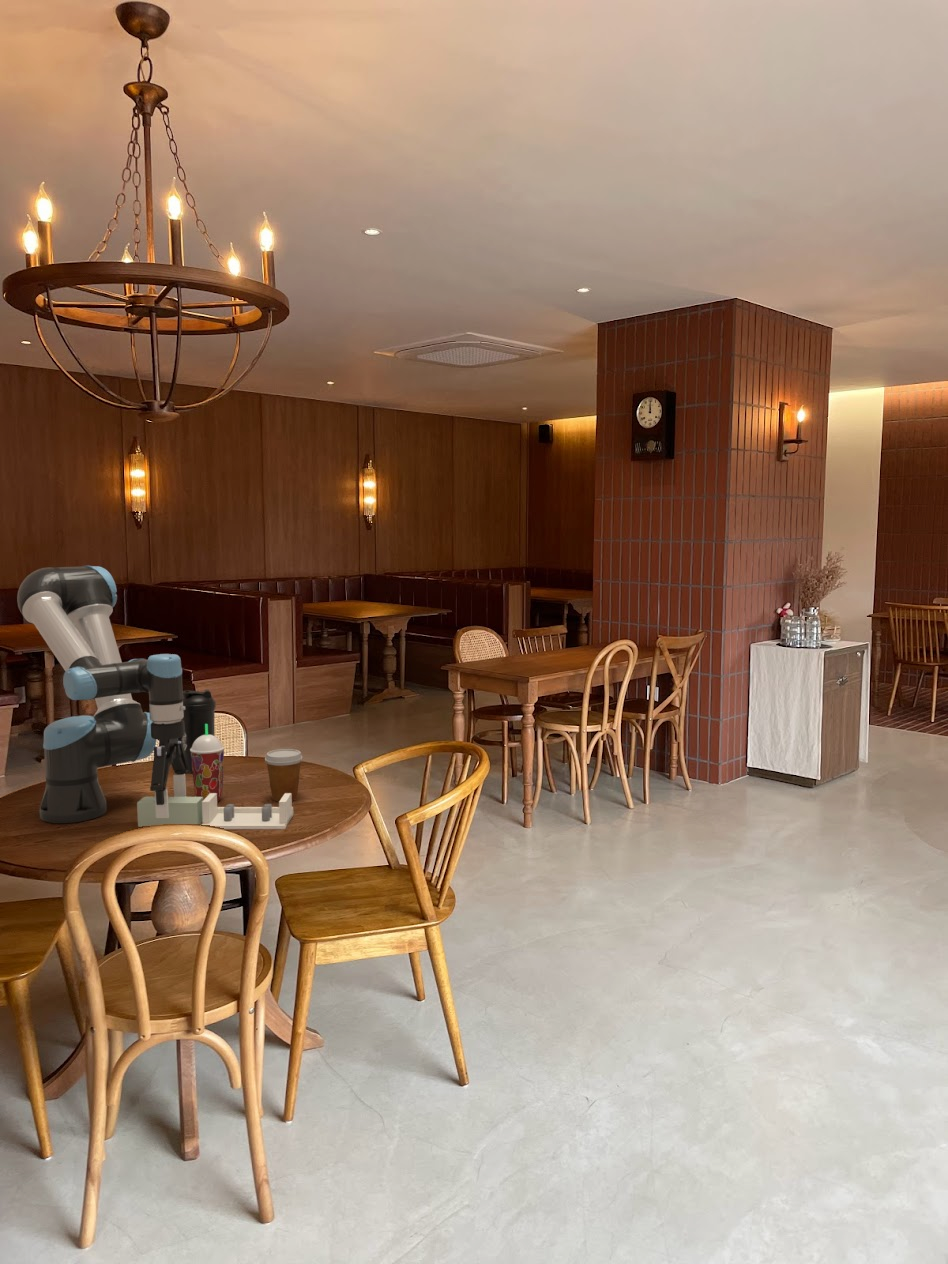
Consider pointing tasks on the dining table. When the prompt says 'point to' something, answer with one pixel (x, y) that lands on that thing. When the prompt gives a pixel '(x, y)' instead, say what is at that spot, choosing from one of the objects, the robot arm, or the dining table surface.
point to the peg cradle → (247, 814)
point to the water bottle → (196, 718)
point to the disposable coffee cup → (283, 772)
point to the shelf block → (170, 811)
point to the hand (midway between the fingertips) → (171, 809)
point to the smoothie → (207, 765)
